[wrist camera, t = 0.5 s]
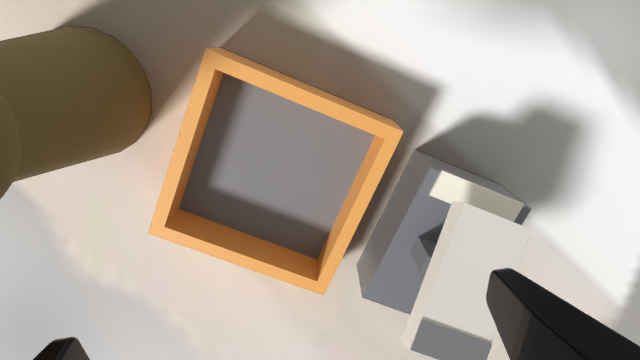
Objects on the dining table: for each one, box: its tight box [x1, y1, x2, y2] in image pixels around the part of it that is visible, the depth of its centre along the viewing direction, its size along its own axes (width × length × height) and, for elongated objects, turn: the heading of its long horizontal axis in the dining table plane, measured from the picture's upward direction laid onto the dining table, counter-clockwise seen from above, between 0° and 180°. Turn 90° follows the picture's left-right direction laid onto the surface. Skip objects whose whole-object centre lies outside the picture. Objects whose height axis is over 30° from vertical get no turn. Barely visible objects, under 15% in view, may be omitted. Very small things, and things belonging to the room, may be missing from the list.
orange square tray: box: [148, 47, 403, 295], centre depth 20 cm, size 9×9×2 cm
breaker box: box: [357, 150, 531, 315], centre depth 20 cm, size 5×7×5 cm
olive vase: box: [0, 26, 152, 199], centre depth 14 cm, size 6×6×11 cm
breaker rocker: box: [401, 201, 532, 360], centre depth 16 cm, size 3×6×1 cm, turn 158°
